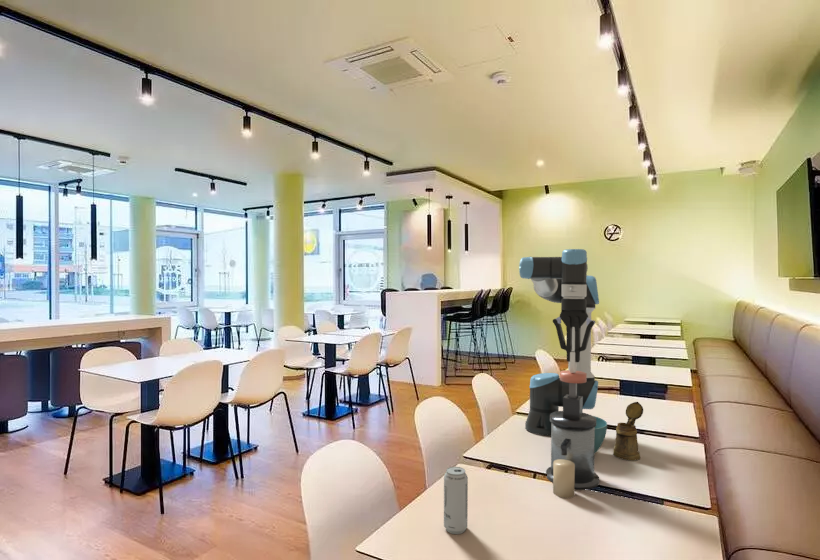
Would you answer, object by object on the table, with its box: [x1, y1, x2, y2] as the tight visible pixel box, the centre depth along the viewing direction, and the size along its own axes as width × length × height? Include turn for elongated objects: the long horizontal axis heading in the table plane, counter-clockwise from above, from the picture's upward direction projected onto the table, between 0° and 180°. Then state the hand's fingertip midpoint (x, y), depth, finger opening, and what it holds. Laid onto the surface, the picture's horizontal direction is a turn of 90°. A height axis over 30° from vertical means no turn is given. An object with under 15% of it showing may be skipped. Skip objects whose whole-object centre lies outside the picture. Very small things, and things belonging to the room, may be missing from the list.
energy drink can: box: [443, 466, 469, 535], centre depth 121 cm, size 6×6×15 cm
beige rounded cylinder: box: [552, 459, 575, 499], centre depth 141 cm, size 6×6×9 cm
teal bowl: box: [593, 415, 608, 455], centre depth 172 cm, size 18×18×12 cm
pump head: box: [559, 369, 587, 399], centre depth 151 cm, size 8×8×8 cm
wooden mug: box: [612, 401, 644, 461], centre depth 172 cm, size 9×14×18 cm, turn 132°
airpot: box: [545, 394, 600, 491], centre depth 149 cm, size 21×16×26 cm
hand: (573, 372), depth 151 cm, fingers closed
